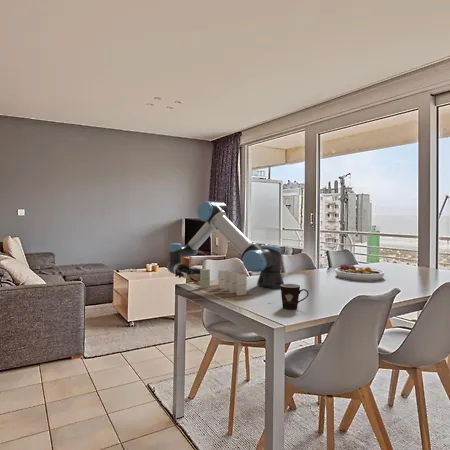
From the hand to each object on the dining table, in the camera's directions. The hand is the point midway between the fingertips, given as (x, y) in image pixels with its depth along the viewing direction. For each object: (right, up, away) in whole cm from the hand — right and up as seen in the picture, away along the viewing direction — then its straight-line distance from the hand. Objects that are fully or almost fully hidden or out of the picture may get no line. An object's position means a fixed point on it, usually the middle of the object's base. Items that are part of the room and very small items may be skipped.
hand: (197, 275), depth 209 cm
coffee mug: (+46, -9, -47) cm, 66 cm away
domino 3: (+18, -6, -13) cm, 23 cm away
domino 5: (+24, -7, -24) cm, 34 cm away
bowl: (+104, -6, +32) cm, 109 cm away
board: (+14, -7, -15) cm, 22 cm away
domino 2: (+15, -6, -8) cm, 18 cm away
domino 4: (+21, -6, -18) cm, 29 cm away
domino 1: (+5, -6, -7) cm, 11 cm away
